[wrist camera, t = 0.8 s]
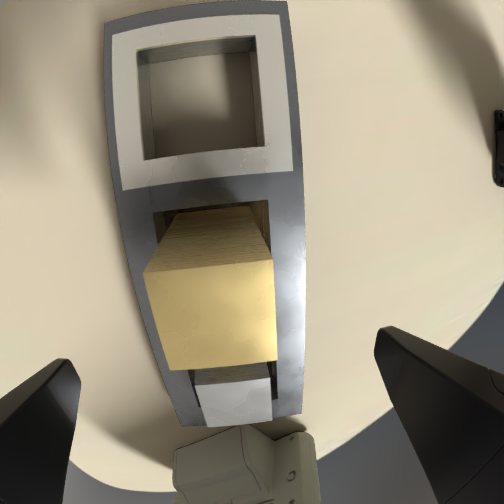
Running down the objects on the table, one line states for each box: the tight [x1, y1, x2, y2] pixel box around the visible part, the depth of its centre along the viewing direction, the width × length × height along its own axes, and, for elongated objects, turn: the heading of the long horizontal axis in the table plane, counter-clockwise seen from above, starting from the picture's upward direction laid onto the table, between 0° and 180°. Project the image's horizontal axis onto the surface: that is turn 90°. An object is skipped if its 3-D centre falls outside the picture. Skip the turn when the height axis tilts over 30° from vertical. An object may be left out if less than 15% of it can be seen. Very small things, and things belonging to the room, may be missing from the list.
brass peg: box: [143, 206, 278, 370], centre depth 13 cm, size 4×4×8 cm
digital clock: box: [172, 424, 321, 504], centre depth 20 cm, size 16×9×11 cm, turn 114°
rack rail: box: [104, 0, 306, 426], centre depth 16 cm, size 9×26×3 cm, turn 4°
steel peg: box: [195, 362, 272, 427], centre depth 18 cm, size 4×4×5 cm
